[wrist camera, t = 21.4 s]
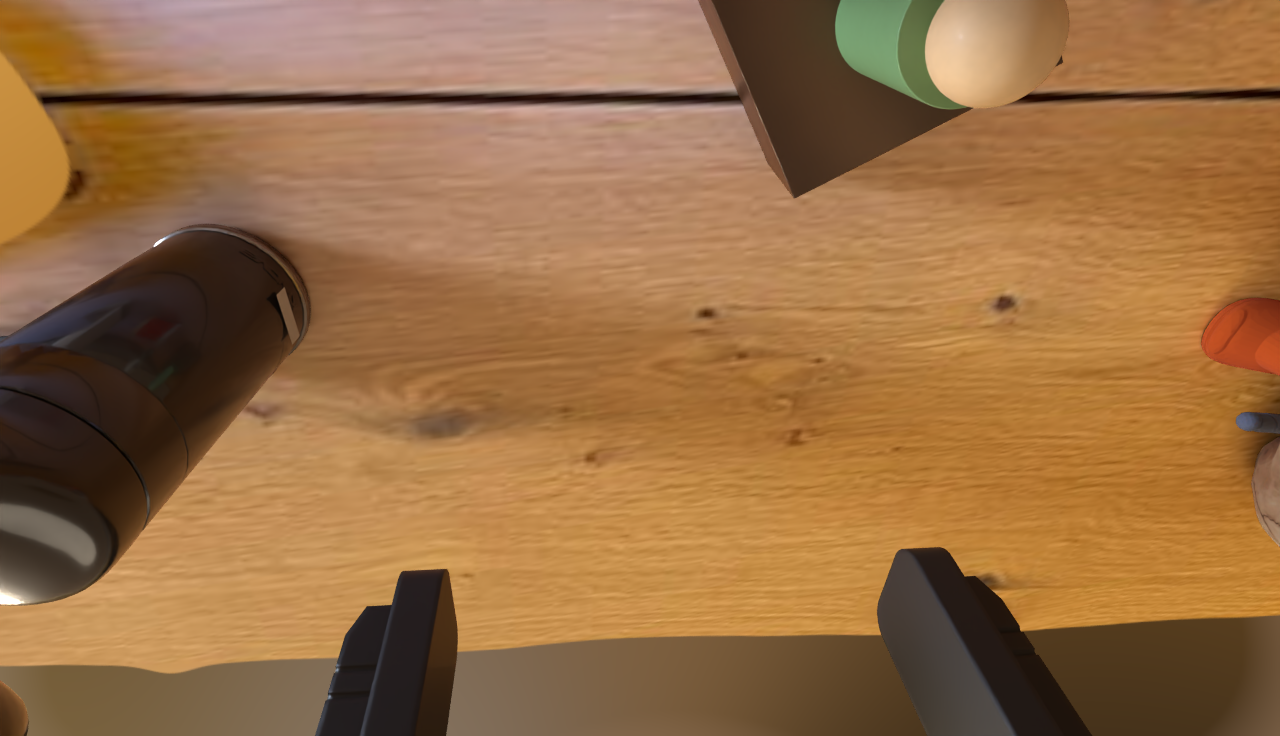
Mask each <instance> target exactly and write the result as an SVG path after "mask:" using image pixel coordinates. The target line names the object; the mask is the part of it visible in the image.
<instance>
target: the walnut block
mask: <svg viewBox="0 0 1280 736" xmlns="http://www.w3.org/2000/svg"><path fill="white" fill-rule="evenodd" d="M698 1H699V3H700V5H701V8H702V10H703V13H704V15H705V17H706V20H707V22H708V24H709V27H710V29H711V31H712V34H713V36H714V38H715V41H716V43H717V45H718V48H719V50H720V52H721V55H722V57H723V59H724V62H725V64H726V66H727V69H728V71H729V73H730V76H731V78H732V80H733V83H734V85H735V87H736V90H737V92H738V94H739V97H740V99H741V101H742V104H743V106H744V108H745V111H746V113H747V115H748V118H749V120H750V122H751V125H752V127H753V129H754V132H755V134H756V137H757V139H758V141H759V144H760V146H761V148H762V151H763V153H764V155H765V158H766V160H767V162H768V164H769V166H770V167H771V168H772V170H773V171H774V172H775V174H776V175H777V176H778V178H779V179H780V180H781V182H782V183H783V184H784V186H785V187H786V188H787V190H788V191H789V192H790V194H791V195H792V196H793V198H797V197H799V196H801V195H803V194H805V193H806V192H808V191H810V190H812V189H814V188H816V187H818V186H820V185H822V184H824V183H826V182H828V181H830V180H832V179H834V178H836V177H838V176H840V175H842V174H844V173H846V172H848V171H850V170H852V169H854V168H856V167H858V166H860V165H862V164H864V163H866V162H868V161H870V160H872V159H874V158H876V157H878V156H880V155H882V154H884V153H886V152H888V151H890V150H891V149H893V148H895V147H897V146H899V145H901V144H903V143H905V142H907V141H909V140H911V139H913V138H915V137H917V136H919V135H921V134H923V133H925V132H927V131H929V130H931V129H933V128H935V127H937V126H939V125H941V124H943V123H945V122H947V121H949V120H951V119H953V118H955V117H957V116H959V115H961V114H963V113H965V112H967V111H969V110H971V109H973V108H972V107H966V108H960V109H940V108H936V107H932V106H930V105H927V104H925V103H923V102H921V101H919V100H916V99H914V98H912V97H910V96H908V95H906V94H903V93H901V92H899V91H897V90H895V89H893V88H891V87H888V86H886V85H884V84H882V83H880V82H878V81H875V80H873V79H871V78H869V77H867V76H865V75H863V74H860V73H859V72H857V71H855V70H854V69H853V68H852V67H851V66H849V64H848V63H847V62H846V61H845V60H844V58H843V56H842V55H841V52H840V50H839V48H838V44H837V40H836V33H835V22H836V15H837V10H838V7H839V4H840V1H841V0H698ZM1061 63H1063V60H1062V55H1061V57H1060V59H1059V61H1058V63H1057V65H1059V64H1061ZM1057 65H1056V66H1057ZM1056 66H1055V67H1056Z"/></svg>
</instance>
